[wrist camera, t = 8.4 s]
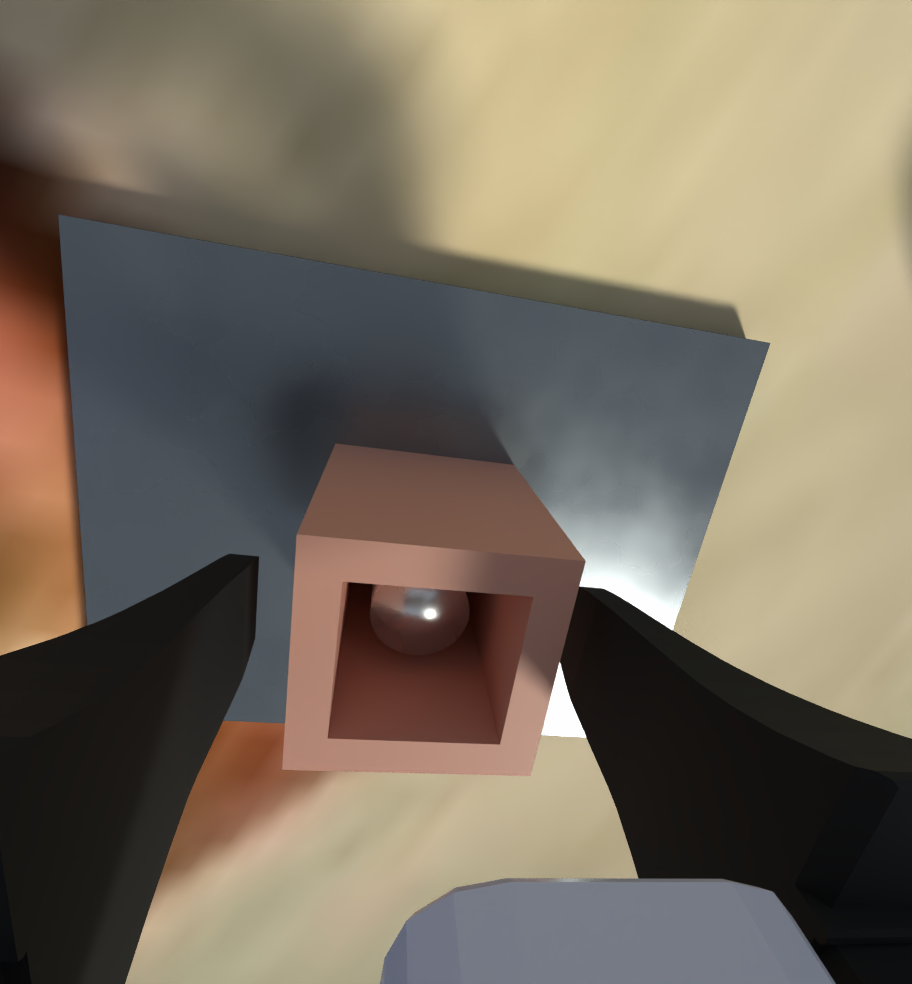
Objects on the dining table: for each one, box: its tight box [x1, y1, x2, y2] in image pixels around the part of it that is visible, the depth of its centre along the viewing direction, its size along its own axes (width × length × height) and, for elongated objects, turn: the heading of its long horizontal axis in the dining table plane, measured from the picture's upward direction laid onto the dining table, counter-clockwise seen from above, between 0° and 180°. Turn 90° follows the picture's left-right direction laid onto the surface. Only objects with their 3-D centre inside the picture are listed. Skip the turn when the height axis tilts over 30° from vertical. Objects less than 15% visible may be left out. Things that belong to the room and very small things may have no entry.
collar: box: [282, 444, 586, 776], centre depth 13 cm, size 5×5×6 cm
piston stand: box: [58, 214, 770, 737], centre depth 14 cm, size 18×14×5 cm
